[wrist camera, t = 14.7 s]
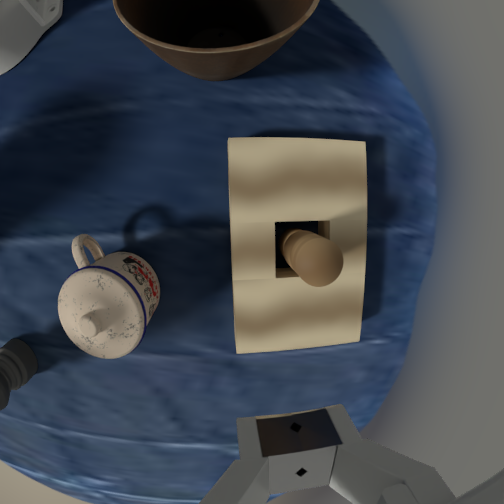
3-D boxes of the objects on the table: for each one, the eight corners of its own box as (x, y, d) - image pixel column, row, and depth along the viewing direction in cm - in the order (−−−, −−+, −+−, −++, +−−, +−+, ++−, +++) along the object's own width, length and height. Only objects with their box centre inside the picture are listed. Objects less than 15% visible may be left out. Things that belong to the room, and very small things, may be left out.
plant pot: (298, 97, 32) (353, 35, 16) (168, 130, 31) (126, 81, 16) (262, -2, 29) (284, -87, 13) (143, 25, 28) (106, -54, 13)
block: (227, 144, 32) (228, 137, 28) (350, 146, 33) (365, 141, 29) (235, 337, 36) (236, 353, 32) (346, 327, 37) (359, 341, 34)
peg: (275, 226, 34) (297, 239, 24) (311, 225, 35) (344, 237, 25) (276, 262, 35) (296, 288, 25) (310, 260, 35) (342, 285, 26)
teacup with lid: (176, 308, 35) (158, 357, 24) (113, 333, 35) (78, 384, 23) (130, 212, 32) (88, 221, 21) (68, 245, 32) (13, 267, 21)
